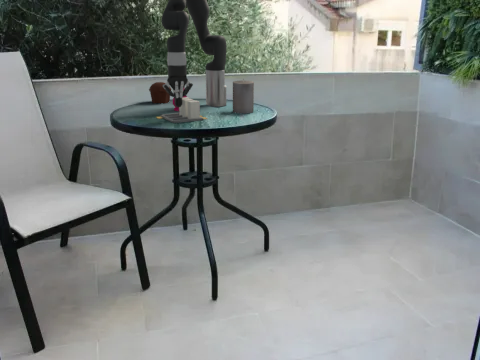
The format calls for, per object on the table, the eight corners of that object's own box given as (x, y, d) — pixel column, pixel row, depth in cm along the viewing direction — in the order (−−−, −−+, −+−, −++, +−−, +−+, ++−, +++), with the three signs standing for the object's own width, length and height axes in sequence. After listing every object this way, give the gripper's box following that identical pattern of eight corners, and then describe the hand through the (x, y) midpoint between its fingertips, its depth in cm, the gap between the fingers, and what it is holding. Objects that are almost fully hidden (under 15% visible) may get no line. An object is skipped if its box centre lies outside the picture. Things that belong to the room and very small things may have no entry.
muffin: (176, 101, 238) (176, 82, 235) (162, 104, 229) (161, 84, 226) (159, 99, 244) (158, 80, 241) (144, 102, 235) (143, 82, 232)
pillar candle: (236, 109, 219) (236, 77, 214) (256, 110, 216) (256, 78, 211) (229, 113, 211) (229, 79, 206) (249, 114, 208) (250, 80, 203)
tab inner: (187, 114, 200) (187, 97, 198) (190, 115, 198) (190, 98, 195) (179, 115, 199) (178, 97, 196) (182, 116, 196) (181, 98, 193)
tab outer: (196, 118, 192) (196, 100, 190) (199, 119, 190) (199, 101, 187) (187, 119, 191) (187, 101, 188) (190, 120, 188) (190, 102, 185)
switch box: (196, 115, 204) (196, 111, 203) (210, 121, 191) (210, 117, 191) (152, 119, 195) (152, 115, 194) (165, 126, 182) (164, 121, 182)
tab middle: (191, 116, 196) (190, 98, 194) (194, 117, 194) (193, 99, 191) (182, 117, 194) (181, 99, 192) (185, 118, 192) (184, 100, 189)
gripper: (188, 62, 191) (189, 104, 197) (158, 63, 185) (160, 106, 191) (195, 64, 185) (196, 107, 190) (164, 65, 179) (166, 109, 184)
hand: (178, 106), depth 191 cm, fingers closed
